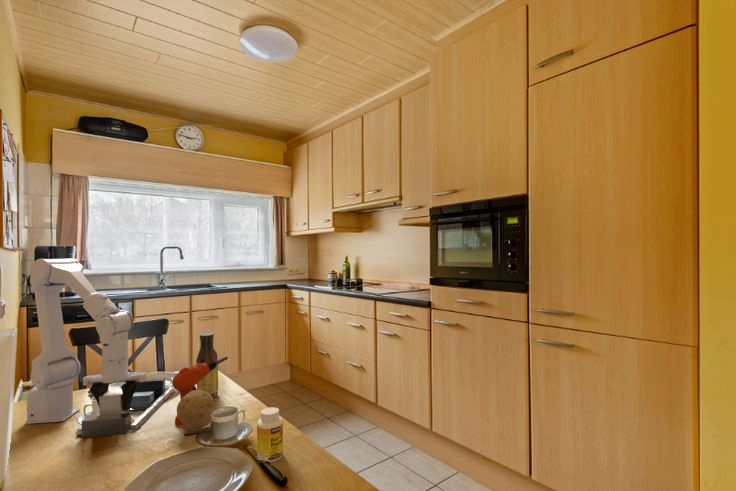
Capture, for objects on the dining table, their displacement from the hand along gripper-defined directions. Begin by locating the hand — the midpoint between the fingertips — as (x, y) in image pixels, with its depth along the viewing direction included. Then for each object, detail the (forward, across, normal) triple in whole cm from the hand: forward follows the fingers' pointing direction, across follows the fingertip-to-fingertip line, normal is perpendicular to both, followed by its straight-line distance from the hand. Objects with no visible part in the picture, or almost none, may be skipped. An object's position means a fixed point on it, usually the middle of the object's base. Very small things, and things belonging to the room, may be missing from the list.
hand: (115, 410), depth 102 cm
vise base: (+4, 0, +9) cm, 10 cm away
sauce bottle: (+4, +19, +17) cm, 26 cm away
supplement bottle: (+4, +42, -23) cm, 48 cm away
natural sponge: (+4, +22, -6) cm, 23 cm away
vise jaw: (+4, 0, +15) cm, 16 cm away
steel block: (+2, 0, 0) cm, 2 cm away
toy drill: (+4, +21, +4) cm, 22 cm away
